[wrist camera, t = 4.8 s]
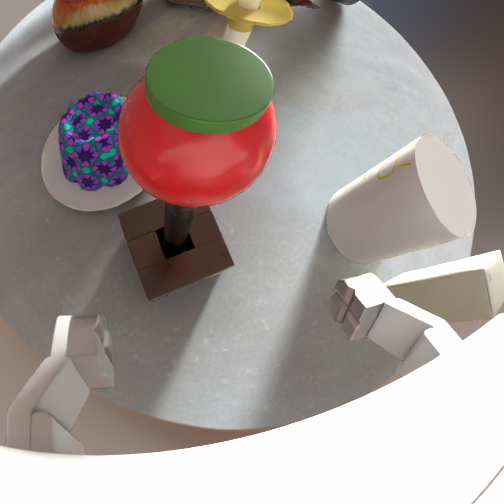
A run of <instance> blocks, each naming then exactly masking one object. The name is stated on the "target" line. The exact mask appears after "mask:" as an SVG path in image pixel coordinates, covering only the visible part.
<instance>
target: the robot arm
mask: <svg viewBox="0 0 504 504" xmlns="http://www.w3.org/2000/svg"><path fill="white" fill-rule="evenodd" d="M335 290H336V292H335V294H334V295H333V296H332V297H331V300H330V303H329V307H330V312H331V315H332V317H333V318H334V320H335V321H337V322H339V323H341V330H342V332H343V333H344V334H345V336H346V337H347V339H348V340H349V341H352V340H356V339H359V338H362V337H365V336H367V338H368V339H370V340H371V341H373V342H374V343H376V344H377V345H379V346H380V347H382V348H383V349H385V350H386V351H388V352H389V353H391V354H392V355H394V356H395V357H397V358H398V359H400V360H401V361H403V362H402V363H401V365H400V366H399V367H398V368H397V373H398V374H399V376H400V377H401V378H400V379H398V380H396V381H394V382H393V383H391V384H389V385H387V386H385V387H383V388H380V389H378V390H377V391H374V392H372V393H370V394H368V395H366V396H363V397H361V398H359V399H357V400H354V401H352V402H350V403H347V404H345V405H342V406H340V407H337V408H335V409H332V410H330V411H327V412H325V413H322V414H319V415H317V416H314V417H311V418H308V419H305V420H302V421H299V422H296V423H293V424H290V425H287V426H284V427H280V428H277V429H274V430H270V431H267V432H263V433H260V434H256V435H252V436H248V437H243V438H239V439H235V440H230V441H226V442H221V443H216V444H211V445H206V446H200V447H194V448H187V449H181V450H173V451H165V452H156V453H144V454H128V455H85V448H84V445H83V444H82V443H81V442H80V441H79V440H78V439H76V438H75V437H74V436H73V435H72V434H70V432H71V430H72V428H73V426H74V423H75V422H76V420H77V418H78V416H79V413H80V412H81V410H82V408H83V406H84V404H85V402H86V400H87V398H88V396H89V394H90V392H91V390H93V389H105V388H115V380H114V369H113V367H112V365H111V362H112V361H113V359H114V350H113V343H112V339H111V335H110V333H109V331H108V330H107V329H105V319H104V317H103V314H101V313H99V314H83V315H71V316H59V317H58V318H57V320H56V324H55V329H54V334H53V340H52V346H51V352H50V358H45V360H44V361H43V362H42V363H41V365H40V366H39V367H38V368H37V370H36V371H35V372H34V373H33V375H32V376H31V377H30V379H29V380H28V381H27V382H26V384H25V385H24V387H23V388H22V389H21V390H20V392H19V393H18V394H17V396H16V397H15V399H14V400H13V401H12V403H11V404H10V406H9V407H8V410H7V422H6V435H5V447H3V446H0V504H504V314H499V315H497V316H496V317H495V318H493V319H492V320H491V321H489V322H488V323H487V324H486V325H484V326H483V327H482V328H480V329H479V330H477V331H476V332H475V333H473V334H472V335H471V336H469V337H468V338H466V339H465V340H463V341H462V340H461V339H460V337H459V336H458V335H457V334H456V333H455V332H454V330H453V329H452V328H451V327H450V326H449V325H448V324H447V322H446V321H445V320H443V319H441V318H439V317H437V316H435V315H433V314H431V313H429V312H427V311H425V310H422V309H420V308H418V307H416V306H414V305H412V304H410V303H408V302H406V301H404V300H402V299H400V298H398V299H396V298H395V297H394V296H393V294H392V293H391V292H390V291H389V290H388V289H387V288H386V287H385V286H384V285H383V284H382V282H381V281H380V280H379V279H378V278H377V277H376V276H375V275H374V274H372V273H369V274H364V275H360V276H354V277H349V278H345V279H340V280H339V281H338V282H337V283H336V285H335Z"/></svg>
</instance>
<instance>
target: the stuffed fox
mask: <svg viewBox="0 0 504 504" xmlns="http://www.w3.org/2000/svg"><path fill="white" fill-rule="evenodd" d="M285 1H286V2H287V3H289V5H290V6H291V7H292V6H298V5H299V6H301V7H302V6H303V7H306V8H313V9H315V8H319V7H318V6H317V5H316V4H315V3H313V2H312V1H311V0H285Z"/></svg>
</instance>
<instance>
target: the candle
mask: <svg viewBox="0 0 504 504" xmlns="http://www.w3.org/2000/svg"><path fill="white" fill-rule="evenodd" d="M205 3H206V4H207V5H208V6H209V7H210V8H211V9H213V10H214V11H215V12H217V13H219V14H221V15H223V16H226V17H228V18H229V21H228V24H227V27H226V30H225V33H224V36H223V39H224V40H228V41H231V42H234V43H237V44H239V45H241V46H243V47H245V45H246V42H247V40H248V38H249V35H250V33H251V31H252V28H253V26H254V25H260V26H268V27H269V26H280V25H284V24H286V23H288V22H289V21H291V20H292V19H293V14H294V11H293V9H292V8H291V6H290V5H289V3H287V2H286V1H285V0H205ZM253 53H254V52H253Z"/></svg>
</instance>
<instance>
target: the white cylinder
mask: <svg viewBox="0 0 504 504" xmlns="http://www.w3.org/2000/svg"><path fill="white" fill-rule="evenodd" d="M326 222H327V228H328V232H329V235H330V237H331V240H332V242H333V243H334V245H335V247H336V248H337V249H338V251H339V252H340V253H341V254H342V255H343V256H344V257H346V258H347V259H349V260H350V261H352V262H355V263H358V264H369V263H373V262H377V261H381V260H384V259H388V258H392V257H396V256H400V255H403V254H407V253H411V252H415V251H418V250H422V249H426V248H429V247H433V246H436V245H440V244H443V243H447V242H450V241H454V240H457V239H461V238H464V237H467V236H469V235H470V234H471V233H472V231H473V229H474V226H475V222H476V203H475V196H474V192H473V189H472V185H471V182H470V180H469V177H468V175H467V173H466V171H465V169H464V167H463V165H462V163H461V162H460V160H459V159H458V157H457V156H456V154H455V153H454V152H453V151H452V149H451V148H450V147H449V146H448V145H447V144H446V143H445V142H443V141H442V140H441V139H439V138H438V137H436V136H433V135H430V134H425V135H422V136H421V137H419V138H418V139H416V140H415V141H413V142H412V143H410V144H409V145H407V146H406V147H404V148H403V149H401V150H400V151H398V152H396V153H395V154H393V155H392V156H390V157H389V158H387V159H386V160H384V161H383V162H381V163H380V164H378V165H377V166H375V167H374V168H372V169H371V170H369V171H368V172H366V173H365V174H363V175H362V176H360V177H359V178H357V179H356V180H354V181H353V182H351V183H350V184H348V185H347V186H345V187H344V188H342V189H341V190H339V191H338V192H337V193H335V194H334V195H333V197H332V198H331V200H330V202H329V204H328V207H327V213H326Z"/></svg>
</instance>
